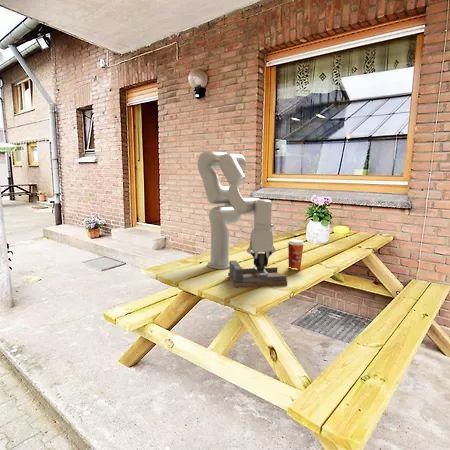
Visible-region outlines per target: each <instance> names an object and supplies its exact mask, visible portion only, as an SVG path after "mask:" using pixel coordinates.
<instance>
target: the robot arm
mask: <svg viewBox="0 0 450 450" xmlns="http://www.w3.org/2000/svg"><path fill="white" fill-rule="evenodd" d="M246 165H247V161H246V158H245V157H244V155H242V154H240V153H233V152H227V151H214V150H213V151H212V150H211V151H210V150H207V151H204V152H202V153H200V155H199V156H198V158H197V169H198V170H197V171H198V173H199V175H200V177H201V180H202V183H203V186H204V191H205V194H206V197H207V198H206V199H207V201H208V203H209V204H211V205H216V206H214V207H212V208H211V209H210V210H209V214H208V217H209V224H210V261H209V262H207V267H209V268H210V269H215V270H226V269H230V259H229V257H230V256H229V255H230V231H229V229H228V226H227V225H230V224H235V223H237V222H239V221H240V220H241V215H242V216H243V215H251V214H254V216H253V217H254V218H253V228H251V233H250V239H249V246H248V248H247V249H246V252H247V253H248V254H250V255H251V256H252V257H253V265H254V267H258V258H257V256H258V253H264V254H265V268H268V264H269V258H270V256H271V255H273V254H274V253H275V252H276V251H277V250H276V248H275V246H274V237H273V230H272V228H274V227H275V226H274V225H275V224H273V223H272V210H273V209H272V208H273V207H272V203H273V202H272V200H270V199H266V198H262V199H261V198H260V197H259V198H258V197H243V196H242V195H241V193H240V190H239V187H240V186H242V185H243V184H244V183H245V181H246V176H245V174H244V172H243V170H244V169H245V168H246ZM214 169H221V172H222V173H223V176H224V177H225V179H226V181H227V183H228V185H222V184H221V182H220V181H221V180H220V177H219V175H218V174H217V172H216V171H215V170H214ZM217 205H219V206H217Z"/></svg>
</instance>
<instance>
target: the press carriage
mask: <svg viewBox="0 0 450 450" xmlns="http://www.w3.org/2000/svg"><path fill="white" fill-rule="evenodd" d="M257 258H258V267H256V266H253V267H252V268H253V273H254V274H255V275H256V276H257V277H259V276H268V272H267V271H266V270H265V268H266V267H265V252H258V256H257Z"/></svg>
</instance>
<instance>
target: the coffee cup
mask: <svg viewBox="0 0 450 450" xmlns="http://www.w3.org/2000/svg"><path fill="white" fill-rule="evenodd" d="M287 245H288V268H289V267H291V268H297V269H298V270H297V271H300V270H301V268H302V267H301V265H302V258H303V251H304V245H305V243H304V240H302V239H294V238H293V239H292V238H291V239H289V240H288V242H287Z"/></svg>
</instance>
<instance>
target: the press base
mask: <svg viewBox="0 0 450 450" xmlns="http://www.w3.org/2000/svg"><path fill="white" fill-rule="evenodd" d="M229 262H230V268H229V271H228V272H227V277H228V276H229V277H228V278H230V279H229V280H230V282H231V284H232V286H233V288H234V289H240V288H239V287H244V288H257V287H258V288H259V287H261V288H262V287H280V286H288V280H287V279H288V277H287V275H285V274H284V275H281V274H280V273H279V272H278V266H276V267H274V266H273V267H265V270H266V271H267V272H268V276H259V277H257V276H256V275H255V274H254V273H253V267H251V268H242V266H241V265H240V264H239V262H238V261H237V260H229Z"/></svg>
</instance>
